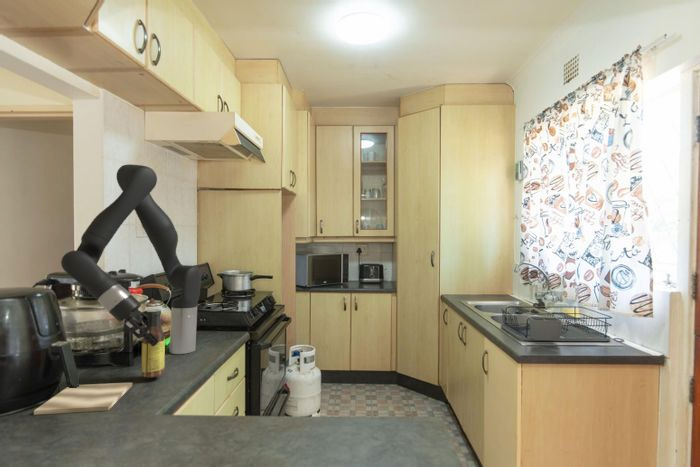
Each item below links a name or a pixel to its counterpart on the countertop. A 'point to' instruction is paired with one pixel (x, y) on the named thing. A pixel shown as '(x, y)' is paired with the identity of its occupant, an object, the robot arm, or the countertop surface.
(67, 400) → the birch board
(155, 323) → the sauce bottle
